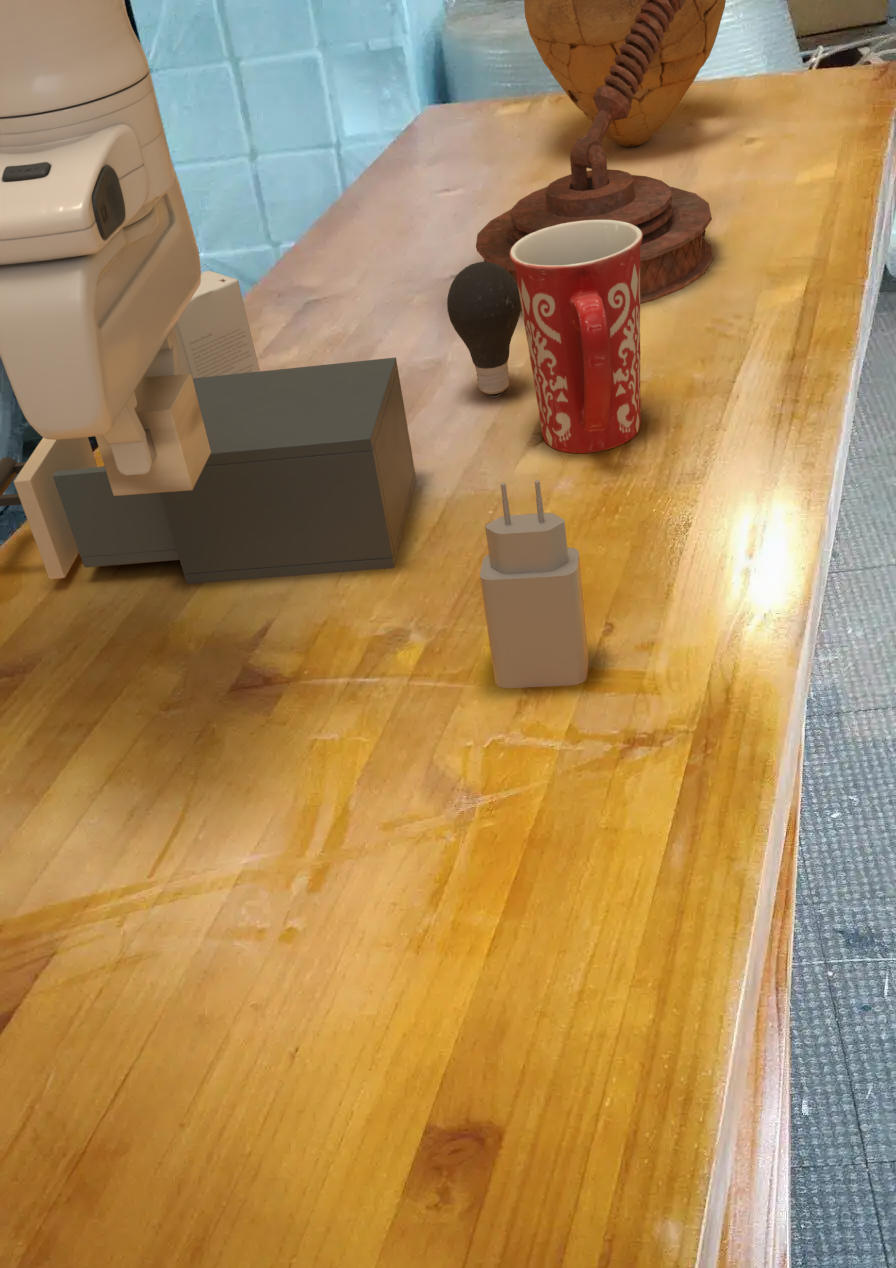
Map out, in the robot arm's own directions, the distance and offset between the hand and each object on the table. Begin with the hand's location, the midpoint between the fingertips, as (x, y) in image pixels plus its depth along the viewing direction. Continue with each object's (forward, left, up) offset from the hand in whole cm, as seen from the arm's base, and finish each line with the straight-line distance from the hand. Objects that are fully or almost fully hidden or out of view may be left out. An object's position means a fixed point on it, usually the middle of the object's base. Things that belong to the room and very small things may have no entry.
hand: (153, 444), depth 77 cm
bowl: (+23, +102, -17) cm, 106 cm away
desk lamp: (+19, +65, -17) cm, 70 cm away
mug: (+21, +31, -17) cm, 41 cm away
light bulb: (+13, +41, -17) cm, 46 cm away
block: (0, 0, -2) cm, 2 cm away
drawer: (-12, +21, -16) cm, 29 cm away
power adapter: (+19, +1, -17) cm, 25 cm away
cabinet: (+1, +21, -17) cm, 27 cm away
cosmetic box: (-8, +37, -17) cm, 42 cm away
